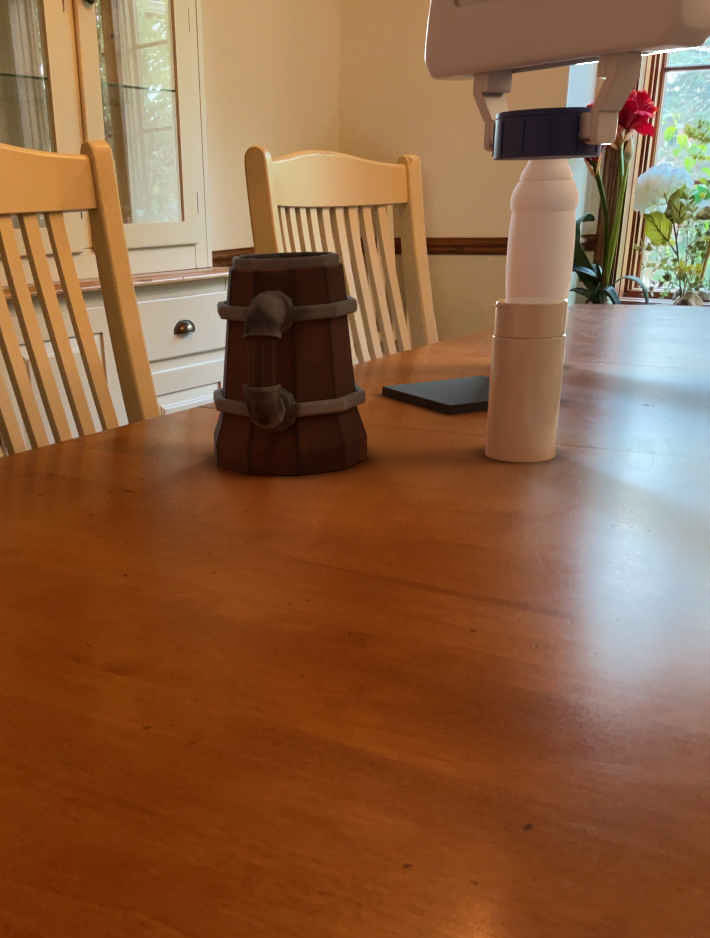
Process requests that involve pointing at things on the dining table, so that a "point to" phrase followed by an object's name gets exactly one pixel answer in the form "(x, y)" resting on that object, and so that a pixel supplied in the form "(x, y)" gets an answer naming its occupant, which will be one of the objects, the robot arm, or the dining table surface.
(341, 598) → the dining table surface
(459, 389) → the plate
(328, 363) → the mug
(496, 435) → the jam jar
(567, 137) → the jam lid
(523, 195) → the water bottle
